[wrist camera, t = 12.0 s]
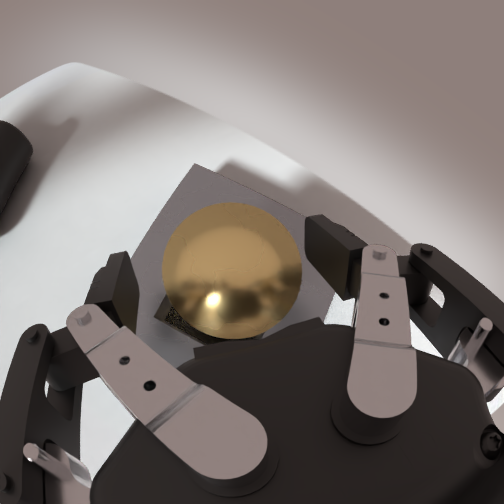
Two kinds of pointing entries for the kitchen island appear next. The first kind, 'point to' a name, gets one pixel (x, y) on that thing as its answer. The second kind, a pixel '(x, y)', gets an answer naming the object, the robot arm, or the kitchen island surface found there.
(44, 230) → the kitchen island surface
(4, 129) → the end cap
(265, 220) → the gold cylinder
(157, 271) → the jig
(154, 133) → the kitchen island surface
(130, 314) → the robot arm
